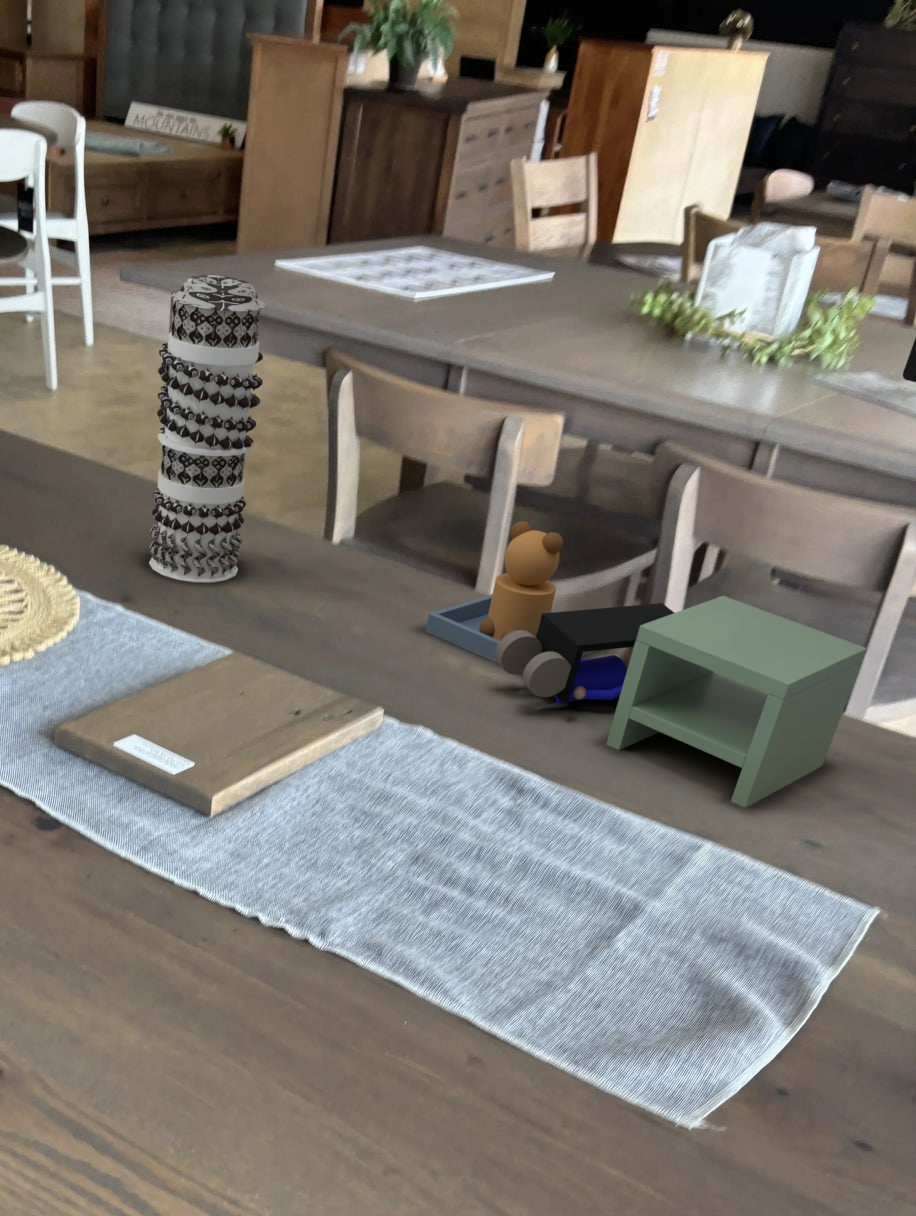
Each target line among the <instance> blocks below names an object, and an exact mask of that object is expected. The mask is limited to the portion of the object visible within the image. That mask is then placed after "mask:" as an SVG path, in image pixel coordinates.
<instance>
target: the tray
mask: <svg viewBox="0 0 916 1216" xmlns="http://www.w3.org/2000/svg"><path fill="white" fill-rule="evenodd" d="M492 595H493V593H492V594H488V595H485V596H481V597H478V598H475V599H471V600H469V601H465V602H461V603H459V604H458V603H457V604H455V605H452V606H448V607H446V608H442V609H439V610H435V611H432V612H429V613H428V617H427V622H426V628H425V632H426V633H429V634H431V635H433V636H436V637H438V638H440V639H442V640H444V641H446V642H449V643H451V644H454V645H456V646H458V647H460V648H463V649H465V650H467V651H469V652H471V653H474V654H476V655H479V656H481V657H482V658H485V659H488V660H490V661H491V662H494V663H497V661H496V659H495V650H496V647H497V645H498V643H499V642H500V641H499V640H497V639H495V638H492V637H490V636H488V635H485V634H483V633H481V632H480V631H479V627H480V624H481V622H482V621H483V620H485V619H487V618H488V613H489V608H490V604H491V599H492ZM553 612H559V611H558V610H556V609H553V608H551V612H550V613H553ZM598 651H599V650H597V651H586V652H583V654H582V657H585V656H587V655H589V654H593V653H595V652H598ZM497 664H498V663H497Z"/></svg>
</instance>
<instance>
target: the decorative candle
mask: <svg viewBox="0 0 916 1216" xmlns="http://www.w3.org/2000/svg"><path fill="white" fill-rule="evenodd" d="M170 297H171V298H172V309H171V311H172V312H171V322H170V323H171V324H170V332H169V333H168V335H167V342H165V343H162V345H161V347H160V348H159V350H158V354H159V357H160V358H162V362H161V365H160V366H159V367H158V369H157V373H158V375H160V380H161V381H162V382H164V384H162V385H161V386H160V391H159V392H157V398H158V399H159V400H160V407H159V408H158V409H157V412H156V415H157V417H158V420H159V421H158V422H160V424H162V425H161V427H160V428H159V430H160V431H159V432H158V433H157V439H158V441H159V442H160V444H161V445H162V447H161V459H160V460H161V462H160V469H159V471H158V475H157V487H156V489H155V491H153V493H152V497H153V499H154V502H155V503H156V505H155V506H154V508H153V509H152V511H151V514H152V516H153V518H154V520H155V521H156V522H155V523H154V524H153V525H152V526H151V528H150V530H149V536H150V537H151V538H152V542H151V543H150V544H149V547H148V552H149V554H150V555H151V558H150V560H149V562H148V563H149V566H150V567H151V569H152V570H153V571H155V572H157V573H158V574H160V575H161V576H165V577H167V578H170V579H175V580H177V581H183V582H191V583H217V582H222V581H227V580H229V579H232V578H233V577H236V575H237V574H238V570H239V568H238V567H237V565H238V564H239V561H240V560H241V554H240V553H239V549H240V547H241V544H243V538H242V537H241V532H240V531H239V529H241V528H242V525H243V524H244V523H245V519H244V517H243V514H242V512H243V511H244V509H245V507H246V506H247V501H246V500H245V498H244V496H243V495H244V490H245V482H246V478H245V477H244V469H245V464H246V458H245V457H246V453H247V452H249V451H250V450H251V448H252V445H253V444H254V443H255V442H254V439H253V438H252V437H250V435H248V433H249V432H251V431H253V430H254V429H255V428H256V427H257V422H256V420H255V419H254V418H252V416H249V413H250V410H252V409H253V408H256V407H257V406H259V405H260V403H261V399H260V397H259V396H257V395H256V393H255V390H257V389H259V388H260V387H261V386H263V384H264V383H263V379H262V377H260V376H259V375H258V374H257V373H255V374H254V367H255V366H257V365H256V364H258V363H259V362H261V361H262V360H263V358H264V356H263V353H262V352H260V350H259V349H260V341H259V338H258V337H259V336H258V335H259V329H260V323H261V322H260V321H261V320H260V319H261V318H260V317H261V312H262V310H263V309H264V308H266V306H267V304H266V303H264V302H263V301H262V300H260V299H259V297H258V293H257V291H256V289H255V288H254V286H253V284H251V283H250V282H248V281H246V280H243V279H241V278H237V277H236V278H235V277H232V276H231V277H230V276H222V275H212V274H211V275H210V274H202V275H194V276H191V277H189V278H188V279H186V281H185V282H184V283H183V284H182V286H181V288H180V289H179V290H178V291H176V292H173V293H172V294H171V295H170ZM253 392H254V393H253Z"/></svg>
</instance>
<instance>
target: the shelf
mask: <svg viewBox="0 0 916 1216" xmlns="http://www.w3.org/2000/svg"><path fill="white" fill-rule="evenodd" d="M867 650H868V648H867V647H864V646H862V645H860V644H856V643H854V642H850V641H848V640H846V639H843V638H840V637H837V636H835V635H832V634H829V633H826V632H824V631H821V630H818V629H815V628H813V627H810V626H808V625H804V624H802V623H799V622H797V621H793V620H791V619H788V618H786V617H783V616H781V615H777V614H775V613H772V612H769V611H766V610H763V609H761V608H759V607H755V606H753V605H750V604H748V603H744V602H742V601H739V600H736V599H733V598H731V597H728V596H726V595H721V596H718V597H716V598H713V599H710V600H707V601H705V602H702V603H699V604H696V605H693V606H690V607H687V608H685V609H682V610H679V611H676V612H674V614H671V615H668V616H665V617H662V618H660V619H657V620H654V621H651V622H649V623H646V624H643V625H641V626H640V628H639V632H638V635H637V639H636V641H635V645H634V648H633V652H632V655H631V659H630V662H629V666H628V669H627V673H626V676H625V680H624V684H623V687H622V691H621V694H620V696H619V698H618V702H617V704H616V708H615V712H614V716H613V718H612V722H611V726H610V729H609V733H608V736H607V740H606V743H605V744H606V746H609V747H611V748H612V749H615V750H617V751H621V750H623V749H625V748H627V747H629V746H632V745H635V744H637V743H639V742H641V741H643V740H645V739H647V738H650V737H652V736H655V735H657V734H659V733H661V734H664V735H665V736H668V737H671V738H672V739H675V740H677V741H679V742H682V743H684V744H687V745H689V746H691V747H693V748H696V749H697V750H701V751H702V752H704V753H707V754H709V755H712V756H714V757H716V758H718V759H720V760H723V761H724V762H727V763H728V764H729V763H730V764H732V765H734V766H737V767H738V768H741V771H740V774H739V776H738V779H737V782H736V785H735V788H734V791H733V794H732V797H731V800H730V802H731V803H734V804H736V805H738V806H740V807H742V808H745V809H746V808H748V807H750V806H752V805H754V804H755V803H757V802H759V801H761V800H762V799H764V798H766V797H768V796H770V795H772V794H773V793H776V792H777V791H779V790H781V789H783V788H785V787H786V786H789V785H790V784H792V783H795V781H798V780H799V779H801V778H803V777H805V776H808V775H809V774H810V773H812V772H814V771H816V770H818V769H820V768H822V767H823V765H824V764H825V763H824V762H825V760H826V758H827V755H828V752H829V750H830V747H831V744H832V741H833V739H834V737H835V733H836V731H837V729H838V726H839V724H840V721H841V719H842V716H843V714H844V711H845V708H846V705H847V703H848V700H849V697H850V695H851V692H852V690H853V687H854V684H855V682H856V679H857V677H858V674H859V671H860V669H861V667H862V663H863V661H864V658H865V656H866V653H867Z"/></svg>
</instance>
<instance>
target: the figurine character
mask: <svg viewBox="0 0 916 1216" xmlns="http://www.w3.org/2000/svg"><path fill="white" fill-rule="evenodd" d="M674 613H675V612H674V611H673V610H672V609H670V608H669V607H668V606H667V605H666V604H665V603H663V602H658V603H648V604H647V603H646V604H636V605H635V604H634V605H624V606H623V605H622V606H611V607H600V608H599V607H598V608H589V609H578V610H566V611H558V612H553V613H542V615H541V621H540V624H539V628H538V631H537V635H536V637H534V636H533V635H532V634H531V633H530V632H528V631H525V630H517V631H514V632H511V633H509V634H507V635H506V636H505V637H504V638H502V640H501V641H500V642H499V643H498V645H497V647H496V650H495V659H496V661H497V664H498V666H500V667H501V668H502V669H503V670H504V672H506V673H508V674H510V675H515V676H517V675H522V681H523V683H524V685H525V687H527V688H523V689H520V690H519V691H518V692H517V694H518V695H521V696H537V697H540V698H550V697H553V698H555V699H556V700H555V702H554V703H548V704H542V705H538V706H536V707H535V710H537V711H551V710H558V709H564V708H567V707H568V706H570V702H571V703H572V702H576V701H581V700H608V701H612V700H614V699H616V698H617V697H620V694H621V691H622V687H623V684H624V680H625V676H626V673H627V669H628V666H629V662H630V659H631V655H632V652H633V648H634V645H635V641H636V639H637V635H638V632H639V628H640V626H641V625H643V624H646V623H649V622H651V621H654V620H657V619H660V618H662V617H665V616H668V615H671V614H674ZM616 649H623V650H622V651H621V652H620V653H619V655H615V654H613V655H612V654H611V655H606V656H599V657H595V658H587V659H585V658H583V656H582V654H583V652H586V651H595V652H598V651H606V650H616ZM597 650H598V651H597Z"/></svg>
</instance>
